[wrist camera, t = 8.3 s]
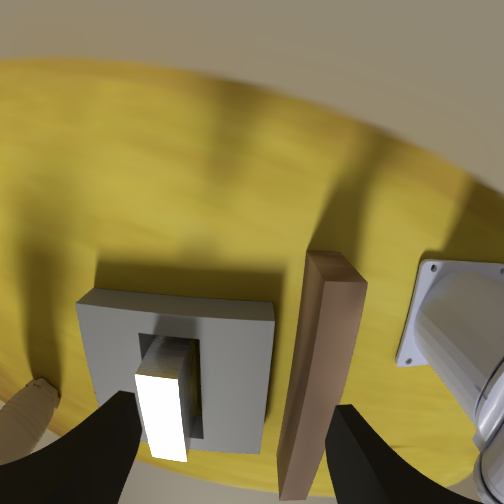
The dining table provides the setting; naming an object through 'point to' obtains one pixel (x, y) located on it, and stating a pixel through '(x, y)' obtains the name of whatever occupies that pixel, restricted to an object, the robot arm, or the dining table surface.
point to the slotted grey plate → (211, 356)
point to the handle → (26, 419)
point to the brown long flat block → (318, 366)
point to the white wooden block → (169, 395)
